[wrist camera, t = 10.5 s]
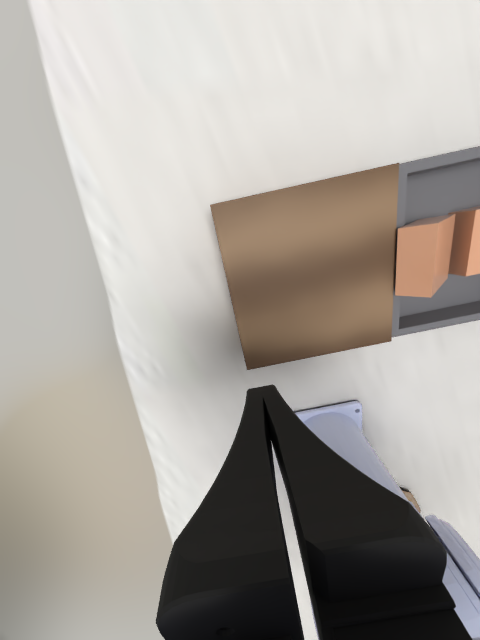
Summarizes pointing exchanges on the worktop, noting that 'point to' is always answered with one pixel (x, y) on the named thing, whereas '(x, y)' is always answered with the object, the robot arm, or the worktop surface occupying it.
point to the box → (431, 201)
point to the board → (311, 265)
